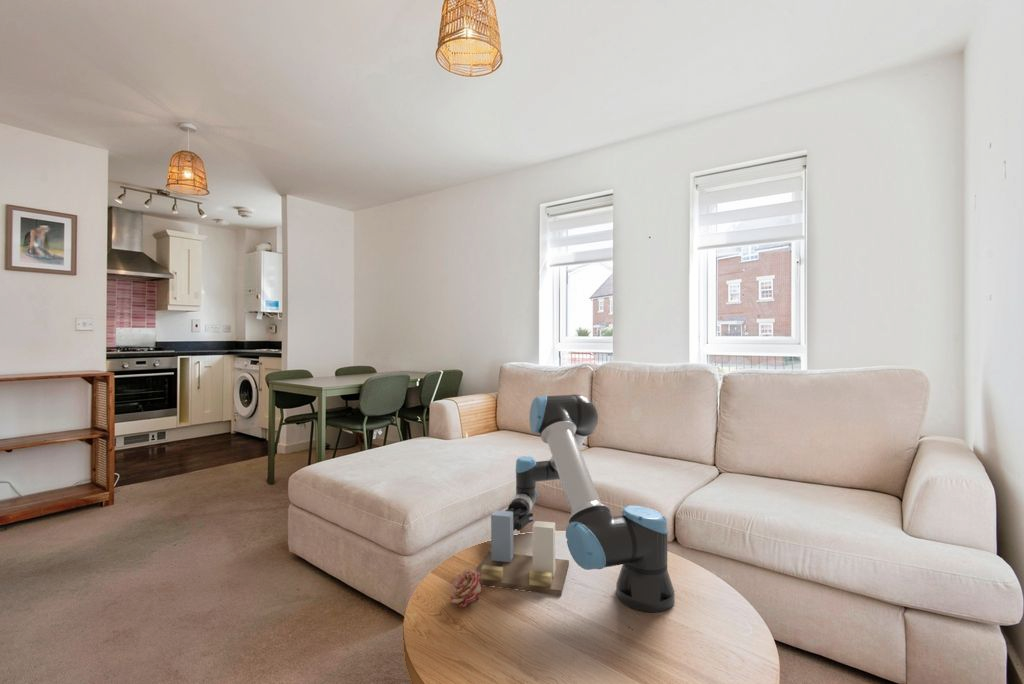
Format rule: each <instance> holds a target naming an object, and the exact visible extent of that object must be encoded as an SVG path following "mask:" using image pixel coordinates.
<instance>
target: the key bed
mask: <svg viewBox="0 0 1024 684" xmlns="http://www.w3.org/2000/svg"><path fill="white" fill-rule="evenodd" d="M569 566H570V560H569V559H560V558H556V570H555V574H554V577H552V573H548V572H539V571H533V555H526V554H525V555H524V554H517V553H514V557H513V559H512V561H511V563H510V562H501V561H493V560H492V556H491V550H490V551H487V552H486V554H485V555H484V557H483V558H482V560H481V561H480V564H478V566H477V567H476V569H475V571H476V570H478V571H477V572H479V573H480V575H481V578H479V580H480V582H481V583H482V585H485V586H484V587H490V586H495V587H494V588H497V587H502V588H501V589H505V588H510V589H509V590H513V589H518V590H517V591H521V590H525V591H524V592H528V591H531V593H536V592H537V593H538V594H546V595H554V596H562V594H563V591H564V587H565V582H566V577H567V574H568V571H569ZM482 578H483V581H482Z"/></svg>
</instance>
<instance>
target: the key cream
mask: <svg viewBox="0 0 1024 684" xmlns="http://www.w3.org/2000/svg"><path fill="white" fill-rule="evenodd" d="M531 527H532V556H533V571H539V572H548V573H552V577H554V574H555V570H556V559H557V558H556V522H552V521H551V522H550V521H539V520H535V521H534V522H533V524H532V526H531Z"/></svg>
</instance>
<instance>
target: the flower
mask: <svg viewBox="0 0 1024 684" xmlns="http://www.w3.org/2000/svg"><path fill="white" fill-rule="evenodd" d="M477 571H478V570H476V569H475V570H473V569H469V568H465V569H464V570H463V571H462V573H460V574H459V575H457V577H456V578H455V579H453V581H452V582H451V588H452V590H451V594H450V595H449V598H450V602H451V603H452V604H459V603H460V604H459V605H458V607H459V608H460V607H461V608H463V607H465V606H467V605H469V603H470V602H472V601H474V600H477V601H478V600H479V599H480V594H481V591H482V589H483V588H482V587H483V586H482V583H481V582H480V580H479V578H481V575H480V573H479V572H477ZM482 581H483V578H482ZM463 601H464V602H463ZM461 602H462V603H461Z"/></svg>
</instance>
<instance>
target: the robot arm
mask: <svg viewBox="0 0 1024 684" xmlns="http://www.w3.org/2000/svg"><path fill="white" fill-rule="evenodd" d="M598 415H599V414H598V410H597V408H596V406H595V404H594V403H593V402H592V401H591V399H590V398H587V397H586V396H584V395H582V394H563V395H548V396H547V395H544V396H537V397H535V398H534V399H533V400H532V402H531V405H530V409H529V427H530V430H531V432H532V433H533V434H536V435H537V434H539V436H540V439H541V442H543V443H545V444H548V447H549V448H548V449H549V450H550V454H551V458H550V460H549V459H548V460H541V461H536V459H535V458H534V457H533V456H520V457H518V458H516V461H515V496H514V497H513V499H512V501H511V502H510V504H509V505H508V507H507V509H506V510H504V511H510V512H513V532H515V530H516V531H517V532H519V531H521V530H522V529H524V528H525V527H526V526H527V525H529V523H532V522H533V521H534V513H531V510H532V508H533V506H534V505H535V504H536V502H537V499H538V491H537V489H536V484H537V483H538V482H546V481H556V480H559V481H560V484H561V485H562V489H563V492H564V494H565V497H566V501H567V504H568V507H569V510H570V515H569V517H568V525H567V526H566V529H565V538H566V545H567V548H568V551H569V553H570V556H571V557H572V559H573V561H574V562H575V563H576V564H577V566H578V567H580V568H582V569H583V570H586V571H587V570H588V571H590V570H591V571H592V570H602V569H605V568H609V567H614V566H620V565H621V569H620V572H619V574H618V578H617V580H616V583H615V584H616V585H615V587H616V589H615V592H616V593H615V594H616V596H617V598H618V599H619V600H620V602H621V603H623V604H625V605H626V606H627V607H629V608H632V609H634V610H637V611H640V610H641V611H642V612H645V611H646V612H647V613H659V612H665V611H667V610H669V609H670V608H672V607H673V605H675V600H676V599H675V598H676V597H675V588H674V586H673V582H672V579H671V576H670V574H669V570H668V534H669V531H668V523H667V522H668V521H667V518H666V516H665V515H664V514H663V513H662V512H660V511H657V510H655V509H653V508H649V507H647V506H642V505H626V506H624V507H623V508H622V511H621V515H616V516H613V515H612V513H611V511H610V508H609V506H608V505H606V504H605V503H604V504H603V503H602V502H601V500H600V497H599V495H598V492H597V490H596V486H595V485H594V482H593V479H592V477H591V474H590V471H589V469H588V467H587V464H586V461H585V459H584V456H583V454H582V451H581V447H583V443H584V442H585V440H586V438H587V437H589V436H591V435H593V433H594V431H595V429H596V428H597V426H598V420H599V416H598ZM499 511H501V509H500V510H499ZM641 611H640V612H641ZM646 612H645V613H646Z"/></svg>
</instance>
